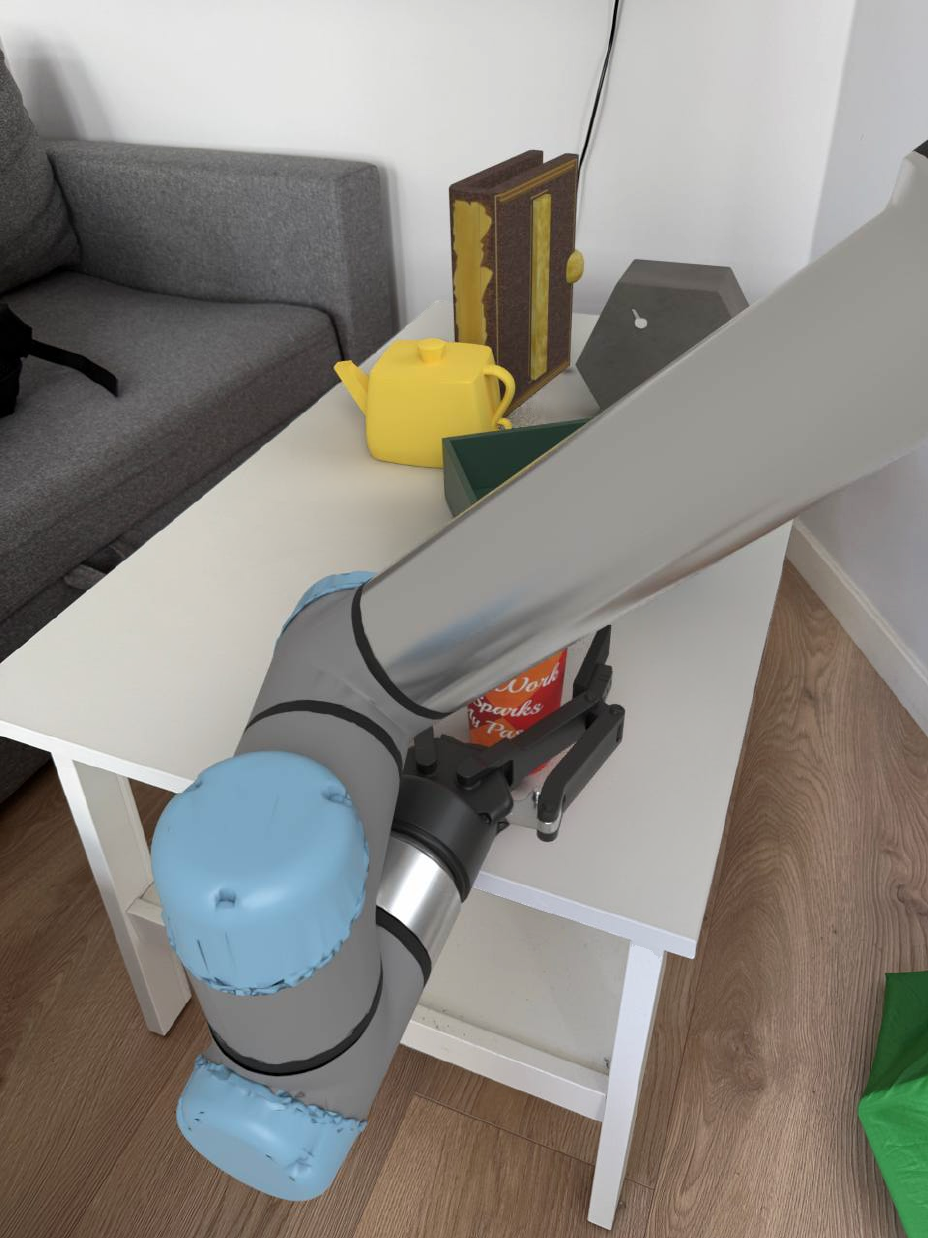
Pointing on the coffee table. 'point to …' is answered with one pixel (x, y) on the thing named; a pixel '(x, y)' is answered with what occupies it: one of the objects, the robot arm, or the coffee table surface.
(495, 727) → the coffee cup
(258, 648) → the coffee table surface
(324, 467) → the coffee table surface
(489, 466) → the bin
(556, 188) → the book
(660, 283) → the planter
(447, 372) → the teapot
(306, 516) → the coffee table surface
